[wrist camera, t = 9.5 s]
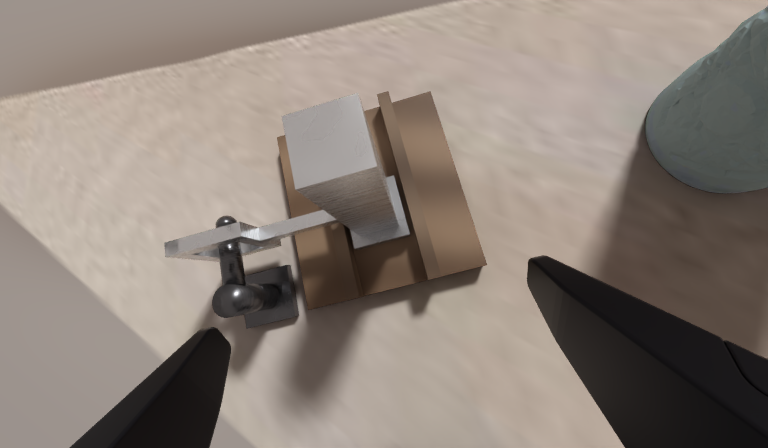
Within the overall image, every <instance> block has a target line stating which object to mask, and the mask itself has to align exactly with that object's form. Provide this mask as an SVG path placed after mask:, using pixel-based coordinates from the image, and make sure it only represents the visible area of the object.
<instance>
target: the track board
mask: <svg viewBox="0 0 768 448" xmlns="http://www.w3.org/2000/svg"><path fill="white" fill-rule="evenodd" d="M377 96H378V101H379V105H380V107H377V108H373V109H370V110H367V111H364V113H365V116H366V119H367V122H368V125H369V128H370V131H371V134H372V137H373V140H374V143H375V146H376V149H377V152H378V155H379V158H380V161H381V164H382V167H383V170H384V173H385V176H386V177H390V176H393V175H394V178H395V181H396V185H397V189H398V192H399V196H400V200H401V203H402V207H403V211H404V214H405V218H406V222H407V225H408V229H409V233H410V237H406V238H402V239H398V240H395V241H391V242H387V243H383V244H379V245H376V246H372V247H368V248H364V249H361V250H356V249H354V244H353V240H352V236H351V231H350V229H349V228H348V227H346V226H345V225H344V224H342V223H341V222H340V223H336V224H332V225H329V226H325V227H322V228H318V229H314V230H311V231H307V232H303V233H300V234H296V235H295V240H296V246H297V251H298V257H299V263H300V268H301V274H302V279H303V285H304V290H305V296H306V301H307V307H308V310H311V309H315V308H319V307H323V306H327V305H331V304H334V303H338V302H342V301H346V300H351V299H355V298H359V297H362V296H366V295H370V294H374V293H378V292H382V291H386V290H390V289H394V288H398V287H402V286H406V285H410V284H414V283H417V282H421V281H425V280H430V279H434V278H438V277H442V276H445V275H449V274H453V273H457V272H461V271H465V270H469V269H473V268H477V267H481V266H485V265H487V263H486V260H485V257H484V254H483V251H482V248H481V245H480V242H479V239H478V236H477V233H476V230H475V226H474V223H473V220H472V217H471V214H470V211H469V208H468V205H467V202H466V199H465V196H464V193H463V190H462V187H461V184H460V180H459V177H458V174H457V171H456V168H455V165H454V162H453V159H452V156H451V153H450V150H449V147H448V144H447V141H446V138H445V135H444V131H443V128H442V125H441V122H440V119H439V116H438V113H437V110H436V107H435V104H434V101H433V98H432V95H431V92H427V93H423V94H420V95H417V96H413V97H410V98H407V99H403V100H400V101H397V102H393V103H391V99H390V96H389V92H388V91H387V92H384V93H380V94H377ZM277 140H278V146H279V151H280V157H281V162H282V168H283V174H284V179H285V185H286V190H287V196H288V201H289V207H290V213H291V218H295V217H299V216H302V215H306V214H309V213H313V212H316V211H320V210H323V209H321V208H320V207H319V206H317V205H316V204H315V203H313V202H312V201H310V200H309V199H308V198H306V197H305V196H303V195H302V194H301V193H299V192H298V191H297V190H295V185H294V180H293V174H292V169H291V164H290V158H289V153H288V148H287V142H286V137H285V135H284V136H280V137H277Z"/></svg>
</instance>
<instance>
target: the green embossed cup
mask: <svg viewBox="0 0 768 448" xmlns="http://www.w3.org/2000/svg"><path fill="white" fill-rule="evenodd" d="M645 133H646V138H647V142H648V145H649V148H650V150H651V152H652V154H653V155H654V157H655V159H656V160H657V161H658V163H659V164H660V165H661V166H662V167H663V168H664V169H665V170H666V171H667V172H668V173H670V174H671V175H672V176H673V177H675V178H676V179H678V180H679V181H681V182H683V183H685V184H687V185H689V186H691V187H694V188H697V189H700V190H704V191H708V192H715V193H742V192H748V191H754V190H759V189H763V188H767V187H768V6H767V7H766V8H765V9H763V10H762V11H760V12H758V13H756V14H755V15H753V16H752V17H750V18H749V19H747V20H745V21H744V22H742V23H741V24H740V26H739V27H738V28H737V29H736V30H735V31H734V32H733V33H732V35H730V37H729V38H728V39H726V40H725V41H724V42H723V43H721V44H720V45H719V46H718V47H717V48H716V49H715V50H714V51H713V52H711V53H709V54H708V55H706V56H704V57H703V58H701V59H700V60H698V61H697V62H696V63H694V64H693V65H692V66H691V67H689V68H688V69H687V70H686V71H685V72H683V73H682V74H681V75H680V76H679V77H678V78H677V79H676V80H674V81H673V82H672V83H671V84H670V85H669V86H668V87H667V88H665V89H664V90H663V91H662V92H661V93H660V94H659V95H658V97H657V98H656V99H655V101H654V102H653V104H652V106H651V107H650V110H649V112H648V115H647V118H646V126H645Z"/></svg>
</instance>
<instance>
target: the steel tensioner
mask: <svg viewBox="0 0 768 448" xmlns="http://www.w3.org/2000/svg"><path fill="white" fill-rule="evenodd" d="M282 121H283V126H284V132H285V137H286V142H287V148H288V153H289V158H290V164H291V169H292V174H293V180H294V185H295V190H297V191H298V192H299V193H301V194H302V195H303V196H305V197H306V198H308V199H309V200H310V201H312V202H313V203H315V204H316V205H317V206H319V207H320V208H321V209H323V210H320V211H316V212H313V213H309V214H306V215H302V216H299V217H295V218H291V219H288V220H284V221H281V222H277V223H273V224H270V225H266V226H263V227H259V228H258V227H254V226H251V225H248V224H245V223H242V222H237V223H233V224H230V225H226V226H222V227H219V228H215V229H212V230H208V231H205V232H201V233H198V234H194V235H190V236H187V237H183V238H180V239H176V240H173V241H169V242H166V243H164V244H165V257H170V258H182V259H193V260H205V261H216V262H220V259H219V250H218V247H220V246H224V245H227V244H231V243H235V242H240V245H241V252H242V256H245V255H249V254H253V253H256V252H260V251H264V250H267V249H271V248H275V247H278V246H281V241H280V239H281V238H285V237H289V236H292V235H296V234H300V233H303V232H307V231H311V230H314V229H318V228H322V227H325V226H329V225H332V224H336V223H340V222H341V223H342V224H344V225H345V226H346V227H348V228H349V229H350V231H351V236H352V240H353V244H354V249H356V250H361V249H364V248H368V247H372V246H376V245H379V244H383V243H387V242H391V241H395V240H398V239H402V238H406V237H410V233H409V229H408V225H407V222H406V218H405V214H404V211H403V207H402V203H401V200H400V196H399V192H398V189H397V185H396V181H395V178H394V175H393V176H390V177H386V176H385V173H384V170H383V167H382V164H381V161H380V158H379V155H378V152H377V149H376V146H375V143H374V140H373V137H372V134H371V131H370V128H369V125H368V122H367V119H366V116H365V113H364V110H363V107H362V104H361V101H360V98H359V94H358V93H356V94H352V95H349V96H346V97H343V98H339V99H336V100H333V101H330V102H326V103H323V104H320V105H316V106H313V107H310V108H307V109H303V110H300V111H297V112H294V113H290V114H287V115H284V116H282Z"/></svg>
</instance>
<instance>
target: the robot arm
mask: <svg viewBox="0 0 768 448" xmlns="http://www.w3.org/2000/svg"><path fill="white" fill-rule="evenodd" d="M527 283H528V287H529V289H530V291H531V293H532V295H533V297H534V299H535V301H536V303H537V305H538V307H539V309H540V311H541V313H542V315H543V317H544V319H545V321H546V323H547V325H548V327H549V329H550V331H551V333H552V334H553V336H554V338H555V340H556V342H557V343H558V345H559V346H560V348H561V350H562V351H563V353H564V354H565V356H566V357H567V359H568V360H569V362H570V363H571V365H572V367H573V368H574V370H575V371H576V373H577V374H578V376H579V377H580V379H581V380H582V382H583V384H584V385H585V387H586V388H587V390H588V391H589V393H590V394H591V396H592V397H593V399H594V400H595V402H596V404H597V405H598V407H599V408H600V410H601V411H602V413H603V414H604V416H605V417H606V419H607V421H608V422H609V424H610V425H611V427H612V428H613V430H614V431H615V433H616V434H617V436H618V437H619V439H620V441H621V442H622V444H623V445H624V447H625V448H768V359H766V358H764V357H762V356H759V355H757V354H755V353H753V352H751V351H749V350H746V349H744V348H742V347H740V346H738V345H736V344H734V343H732V342H729V341H723V339H722V338H721V337H719V336H716V335H714V334H712V333H710V332H708V331H706V330H704V329H702V328H699V327H697V326H695V325H693V324H691V323H689V322H687V321H684V320H682V319H680V318H678V317H676V316H674V315H672V314H670V313H667V312H665V311H663V310H661V309H659V308H657V307H655V306H653V305H650V304H648V303H646V302H644V301H642V300H640V299H638V298H636V297H633V296H631V295H629V294H627V293H625V292H623V291H621V290H619V289H616V288H614V287H612V286H610V285H608V284H606V283H604V282H602V281H599V280H597V279H595V278H593V277H591V276H589V275H587V274H585V273H582V272H580V271H578V270H576V269H574V268H572V267H570V266H567V265H565V264H563V263H561V262H559V261H557V260H555V259H553V258H550V257H548V256H544V255H543V256H538V257H534V258H531V259H529V261H528V273H527ZM230 355H231V346H230V343H229V342H228V341H227V339H226V338H225V337H224V336H223V335H222V334H221V332H220V331H219V330H218V329H217V328H215V327H211V328H206V329H202V330H199V331H198V332H197V333H195V334H194V335H193V336H192V337H191V338H190V339H189V340H188V341H187V342H186V343H184V344H183V345H182V346H181V347H180V348H179V349H178V350H177V351H176V352H174V353H173V354H172V355H171V356H170V357H169V358H168V359H167V360H166V361H165V362H163V363H162V364H161V365H160V366H159V367H158V368H157V369H156V370H155V371H154V372H152V373H151V375H149V376H148V377H147V378H146V379H145V380H144V381H143V382H142V383H140V384H139V385H138V386H137V387H136V388H135V389H134V390H133V391H132V392H130V393H129V394H128V395H127V396H126V397H125V398H124V399H123V400H122V401H121V402H119V403H118V404H117V405H116V406H115V407H114V408H113V409H112V410H111V411H109V412H108V413H107V414H106V415H105V416H104V417H103V418H102V419H101V420H100V421H98V422H97V423H96V424H95V425H94V426H93V427H92V428H91V429H90V430H88V432H86V433H85V434H84V435H83V436H82V437H81V438H80V439H79V440H77V441H76V442H75V443H74V444H73V445H72V446H71V447H70V448H209V447H210V444H211V440H212V436H213V433H214V429H215V425H216V422H217V418H218V415H219V411H220V407H221V403H222V398H223V393H224V387H225V382H226V376H227V371H228V366H229V360H230Z"/></svg>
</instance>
